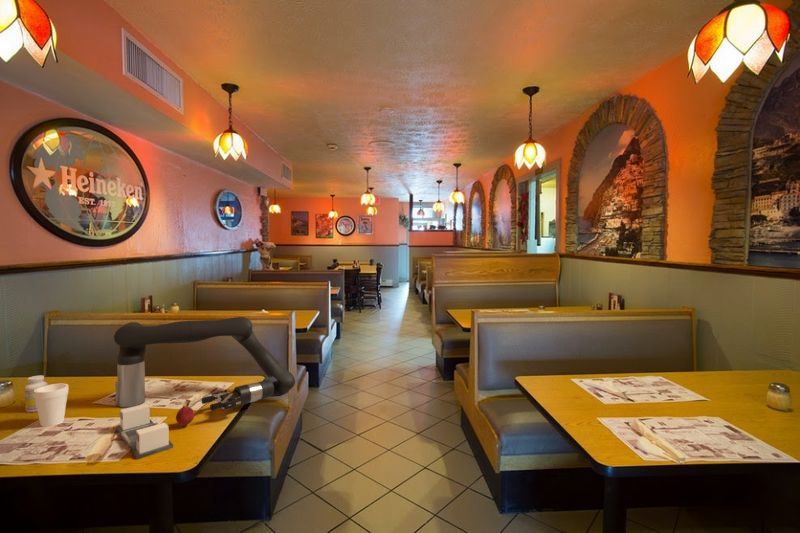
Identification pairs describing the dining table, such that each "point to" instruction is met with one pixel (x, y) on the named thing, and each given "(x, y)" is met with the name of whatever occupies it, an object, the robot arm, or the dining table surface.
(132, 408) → the mounted modules
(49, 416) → the foam cup
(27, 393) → the supplement bottle
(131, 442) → the mounting plate
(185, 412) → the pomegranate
